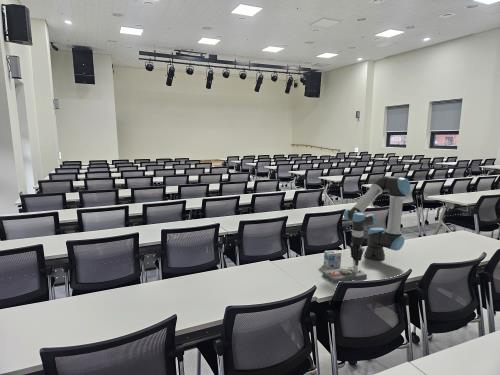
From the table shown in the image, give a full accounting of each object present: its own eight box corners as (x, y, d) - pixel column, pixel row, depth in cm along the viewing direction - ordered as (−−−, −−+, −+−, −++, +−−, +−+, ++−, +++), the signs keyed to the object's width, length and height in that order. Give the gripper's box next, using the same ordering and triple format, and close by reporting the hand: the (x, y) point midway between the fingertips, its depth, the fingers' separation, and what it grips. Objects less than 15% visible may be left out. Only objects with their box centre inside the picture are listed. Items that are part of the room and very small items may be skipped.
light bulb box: (327, 268, 235) (328, 254, 233) (323, 264, 241) (323, 250, 239) (340, 266, 237) (341, 252, 236) (336, 263, 244) (336, 249, 242)
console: (353, 270, 231) (353, 266, 231) (366, 278, 218) (366, 274, 218) (322, 275, 223) (323, 270, 223) (334, 283, 210) (334, 279, 210)
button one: (355, 271, 226) (356, 267, 226) (360, 274, 222) (360, 270, 221) (349, 272, 225) (350, 268, 224) (354, 275, 220) (354, 271, 220)
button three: (334, 274, 221) (335, 270, 220) (339, 278, 216) (339, 273, 216) (328, 275, 219) (328, 271, 219) (332, 279, 215) (332, 274, 214)
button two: (345, 270, 223) (345, 266, 223) (350, 273, 219) (350, 269, 218) (339, 271, 222) (339, 267, 221) (343, 274, 217) (344, 270, 217)
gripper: (346, 233, 224) (344, 266, 227) (358, 239, 211) (356, 273, 215) (356, 232, 226) (354, 264, 230) (368, 238, 214) (366, 272, 218)
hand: (355, 268), depth 223 cm, fingers closed
